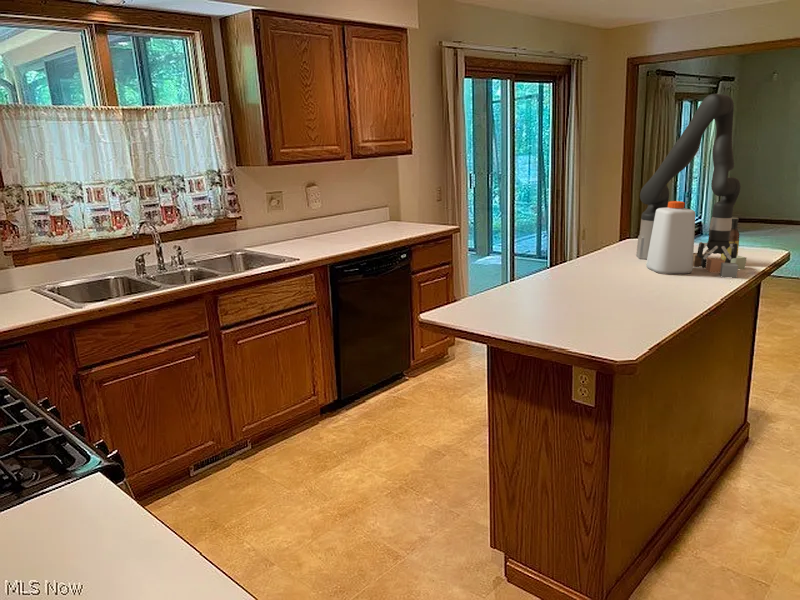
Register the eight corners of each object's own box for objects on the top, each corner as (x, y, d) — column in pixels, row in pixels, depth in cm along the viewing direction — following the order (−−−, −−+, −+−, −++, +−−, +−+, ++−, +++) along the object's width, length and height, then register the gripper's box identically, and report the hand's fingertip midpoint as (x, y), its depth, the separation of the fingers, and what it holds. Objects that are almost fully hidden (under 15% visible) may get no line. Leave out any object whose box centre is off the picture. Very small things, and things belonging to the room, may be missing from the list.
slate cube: (721, 277, 230) (723, 264, 228) (719, 274, 234) (721, 262, 233) (736, 278, 228) (738, 265, 227) (733, 275, 233) (735, 263, 231)
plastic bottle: (696, 274, 235) (705, 203, 227) (659, 275, 234) (667, 204, 226) (676, 265, 250) (684, 199, 242) (642, 266, 249) (649, 200, 241)
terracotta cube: (709, 272, 238) (711, 260, 237) (705, 269, 243) (707, 257, 241) (723, 272, 237) (724, 260, 236) (718, 269, 242) (720, 258, 241)
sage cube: (734, 270, 241) (736, 258, 240) (725, 267, 246) (727, 255, 245) (744, 269, 243) (746, 257, 241) (734, 266, 247) (736, 255, 246)
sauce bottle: (732, 262, 255) (739, 216, 249) (739, 265, 249) (746, 218, 243) (716, 262, 255) (723, 216, 250) (722, 265, 249) (729, 218, 244)
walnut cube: (693, 267, 248) (695, 255, 246) (687, 264, 252) (688, 253, 251) (705, 266, 248) (706, 255, 247) (698, 264, 253) (699, 252, 251)
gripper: (735, 227, 238) (730, 266, 242) (698, 226, 240) (693, 265, 244) (743, 230, 231) (737, 270, 235) (704, 229, 233) (699, 269, 237)
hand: (714, 268), depth 240 cm, fingers open, 8 cm apart
